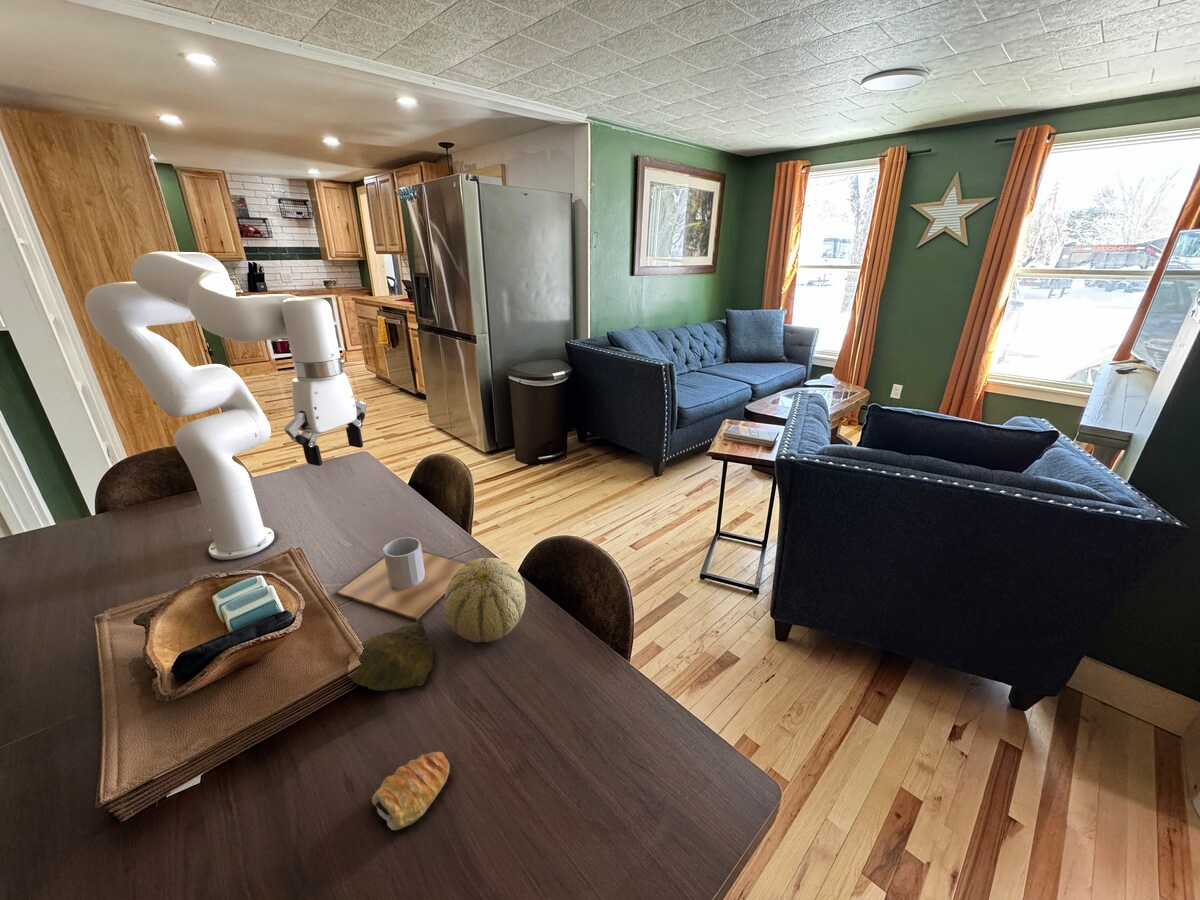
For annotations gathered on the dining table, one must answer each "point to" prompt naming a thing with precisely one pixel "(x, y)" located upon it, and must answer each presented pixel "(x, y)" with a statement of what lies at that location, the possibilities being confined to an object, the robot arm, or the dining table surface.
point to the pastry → (411, 790)
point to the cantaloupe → (485, 600)
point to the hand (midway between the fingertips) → (336, 455)
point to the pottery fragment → (395, 659)
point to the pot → (404, 562)
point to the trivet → (403, 601)
